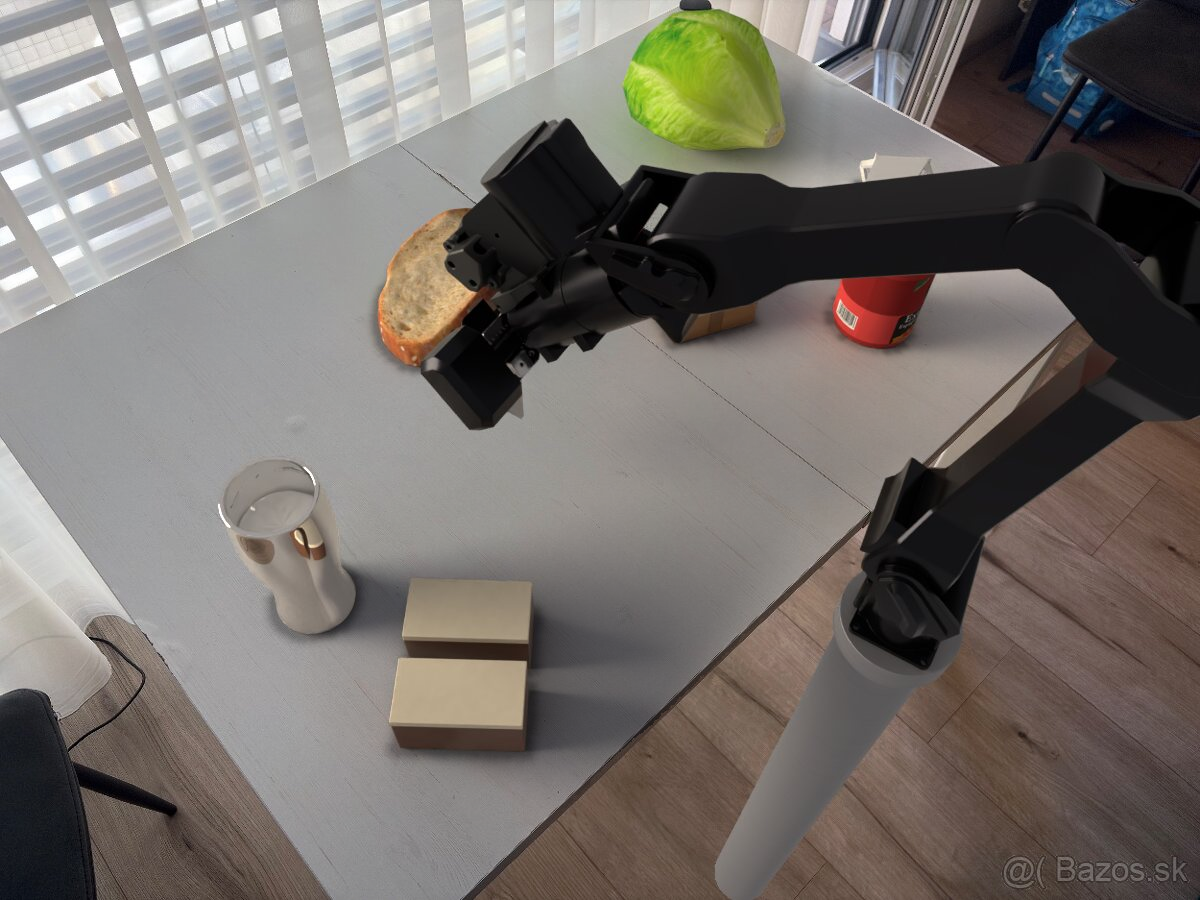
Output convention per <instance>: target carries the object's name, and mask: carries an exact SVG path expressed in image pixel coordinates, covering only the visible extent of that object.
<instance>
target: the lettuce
mask: <svg viewBox="0 0 1200 900" xmlns="http://www.w3.org/2000/svg"><path fill="white" fill-rule="evenodd" d="M621 85H622V88H623V94H624V99H625V101H626V106H627V109H628V111H629V114H630V117H631V119H633V120H634V121H636V122H637V123H639V124H640V125H641V126H642V127H644V128H646V129H647V130H648V131H650V132H651V133H652V134H654V135H656V136H658V137H660V138H662V139H663V140H666V141H668V142H670V143H673V144H674V145H677V146H678V147H681V148H683V149H686V150H700V151H711V152H712V151H728V150H729V151H730V150H738V149H769V148H771V147H775V146H777V145H778V144H779V143H780V142H781V141H782V139H783V137H784V136H785V133H786V118H785V114H784V110H783V106H782V102H781V94H780V82H779V79H778V75H777V72H776V68H775V65H774V62H773V60H772V58H771V55H770V52H769V50H768V47H767V45H766V43H765V40H764V38H763V36H762V34H761V31H760V29H759V28H757V27H756V26H755V25H754V24H752V23H751V22H750V21H748V20H747V19H745V18H743V17H740V16H738V15H736V14H733V13H730V12H728V11H726V10H723V9H721V8H716V9H715V8H714V9H702V10H680V11H676V12H674V13H673V12H672V13H671V14H669V15H668V16H667V17H666V18H665V19H664V20H663V21H661V22H660V23H659V24H658V25H657V26H655V27H654V28H653V29H652V30H650V32H648V33H647V34H646V35H645V36H644V38H643V39H642V40H641V41H640V43H639V44H638V46H637V47H636V49H635V51H634V53H633V54H632V57H631V61H630V63H629V65H628V68H627V71H626V73H625V76H624V79H623V81H622V84H621Z"/></svg>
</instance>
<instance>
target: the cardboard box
mask: <svg viewBox="0 0 1200 900" xmlns="http://www.w3.org/2000/svg"><path fill="white" fill-rule="evenodd" d="M758 303H759V301H758V302H756V303H754V304H752V305H749V306H745V307H740V308H735V309H730V310H725V311H721V312H716V313H711V314H704V315H699V316H698V318H697V319H696V321H695V323H694V324H693V326H692V327H691V329H690V330H689V332H688V333H687V335H686V336H685V338H684V340H683V341H682V342H687V341H689V340H694V339H696V338H701V337H704V336H708V335H711V334H714V333H718V332H723V331H726V330H729V329H733V328H736V327H741V326H744V325H746V324H747V325H748V324H751V323H754V320H755V315H756V311H757V308H758ZM671 341H672V340H671ZM682 342H681V343H682ZM672 343H673V345H676V344H677V343H674V342H673V341H672Z"/></svg>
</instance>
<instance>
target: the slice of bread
mask: <svg viewBox="0 0 1200 900" xmlns="http://www.w3.org/2000/svg"><path fill="white" fill-rule="evenodd" d="M472 208H473V207H461V208H451V209H448V210H444V211H443V212H440V213H439V214H436V215H435V216H434V217H433V218H431V219H430V220H429V221H428V222H426V223H425V224H423V225H422V226H421V227H419V228H418V229H417V230H415V231H414V232H413V233H412V234H411V235H410V237H408V238H407V239H406V240H405V241H404V242H403V243H402V244H401V246H400V247H399V248H398V250H397V251H396V252H395V254H394V255H393V257H392V259H391V261H390V262H389V263H388V265H387V272H386V273H387V276H386V277H387V278H386V282H385V284H384V287H383V289H382V291H381V292H380V294H379V297H378V302H377V303H378V305H377V307H378V308H377V322H378V327H379V332H380V336H381V339H382V341H383V343H384V344H385V346H386V348H387V349H388V351H390V353H391V354H392V355H393V356H394V357H395V358H396V359H398V360H400V361H402V362H403V363H404V364H405V365H406V366H412V367H420V368H421V361H422V360H423V359H424V358H425V357H426V356H427V355H428V354H429V353H430V352H431V351H432V350H433V349H434V348H435V347H436V346H437V345H438V343H439V342H440V341H441V340H442V339H443V338H445V337H446V336H447V335H449V334H450V333H451V332H453V331H454V330H455V329H457V328H459V327H461V322H462V320H463V318H464V317H465V316H466V315H467V314H468V311H467V310H468V309H469V308H470V307H471V306H472V305H473V304H474V303H475V302H476V301H477V300H478V299H479V298H482V299H484V300H486V301H488V302H490V303H492V302H491V300H490V299H491V298H492V297H493V296H494V295H495V294H496V293H497V292H499V290H498V289H497V290H496V291H494V290H492V289H490V288H489V287H483V288H482V289H481V290H480V291H479V292H473V291H470V290H468V289H467V288H466V287H465V286H464V285H463V284H461V283H460V282H459V281H458V280H457V279H456V278H454V277H453V276H452V275H451V274H450V273H449V272H448V271H447V270H446V268H445V265H444V261H445V259H446V257H447V255H448V252H447V251H446V250H445V248H444V246H443V243H444V242H445V241H446V240H447V239H448V238H449V237H450V236H451V235H452V234H453V233H454V232H455V231H456V230H457V229H458V227H459V225H460V222H461V220H462V218H463V216H464V215H465V214H466V213H467V212H468V211H470V210H471V209H472ZM492 304H493V303H492Z"/></svg>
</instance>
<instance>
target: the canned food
mask: <svg viewBox="0 0 1200 900" xmlns="http://www.w3.org/2000/svg"><path fill="white" fill-rule="evenodd" d="M936 275H937V274H925V275H907V276H890V277H872V278H854V279H840V282H839V285H838V289H837V292H836V295H835V299H834V302H833V305H832V315H833V321H834V324H835V326H836V327H837V329H838V330H839V332H840V333H841V334H843V336H845V337H846V338H847V339H849V340H850V341H852V342H854V343H855V344H858V345H860V346H864V347H867V348H873V349H888V348H892V347H895V346H897V345H899V344H901V343H902V342H903V341H904V340H906V338H908V336H909V335H910V334H911V333H912V331H913V329H914V327H915V324H916V322H917V320H918V317H919V315H920V313H921V310H922V308H923V306H924V303H925V301H926V299H927V297H928V294H929V292H930V289H931V288H932V285H933V283H934V280H935V278H936Z"/></svg>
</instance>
